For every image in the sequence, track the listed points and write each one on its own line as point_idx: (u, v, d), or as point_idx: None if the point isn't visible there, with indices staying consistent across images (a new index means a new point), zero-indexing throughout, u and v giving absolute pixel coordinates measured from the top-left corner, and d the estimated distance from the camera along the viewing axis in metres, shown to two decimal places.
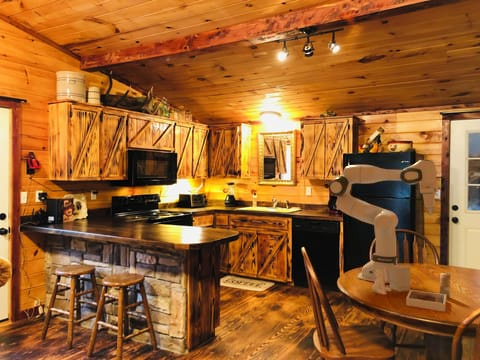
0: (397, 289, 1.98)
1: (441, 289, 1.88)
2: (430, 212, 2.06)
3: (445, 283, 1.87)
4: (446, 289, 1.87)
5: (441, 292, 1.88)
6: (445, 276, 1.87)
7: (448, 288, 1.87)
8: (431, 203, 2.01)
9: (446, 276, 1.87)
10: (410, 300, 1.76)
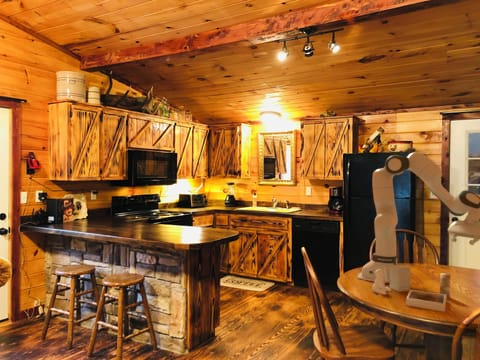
0: (397, 289, 1.98)
1: (441, 289, 1.88)
2: (473, 242, 1.91)
3: (445, 283, 1.87)
4: (446, 289, 1.87)
5: (441, 292, 1.88)
6: (445, 276, 1.87)
7: (448, 288, 1.87)
8: None
9: (446, 276, 1.87)
10: (410, 300, 1.76)
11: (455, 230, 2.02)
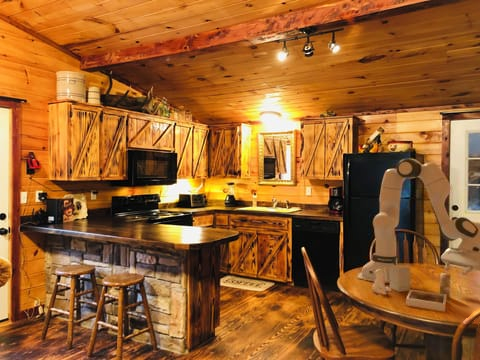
0: (397, 289, 1.98)
1: (441, 289, 1.88)
2: (466, 272, 1.87)
3: (445, 283, 1.87)
4: (446, 289, 1.87)
5: (441, 292, 1.88)
6: (445, 276, 1.87)
7: (448, 288, 1.87)
8: None
9: (446, 276, 1.87)
10: (410, 300, 1.76)
11: (448, 258, 1.98)
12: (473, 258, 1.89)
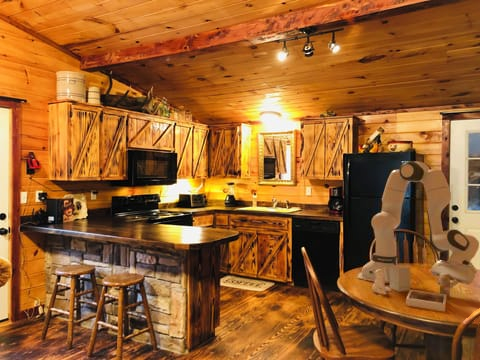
0: (397, 289, 1.98)
1: (441, 289, 1.88)
2: (452, 285, 1.86)
3: (445, 283, 1.87)
4: (446, 289, 1.87)
5: (441, 292, 1.88)
6: (445, 276, 1.87)
7: (448, 288, 1.87)
8: (471, 281, 1.82)
9: (446, 276, 1.87)
10: (410, 300, 1.76)
11: (438, 271, 1.94)
12: (463, 272, 1.85)
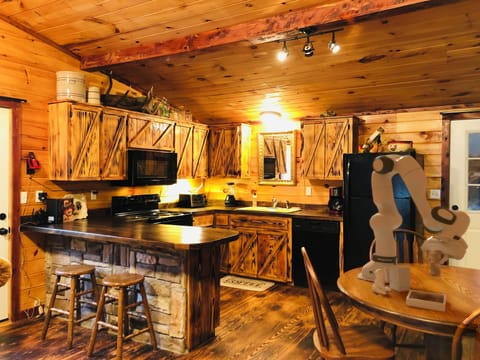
0: (397, 289, 1.98)
1: (431, 265, 1.83)
2: (443, 261, 1.80)
3: (435, 259, 1.81)
4: (437, 265, 1.81)
5: (431, 268, 1.83)
6: (436, 252, 1.81)
7: (439, 264, 1.81)
8: (462, 257, 1.76)
9: (437, 252, 1.81)
10: (410, 300, 1.76)
11: (428, 248, 1.89)
12: (454, 247, 1.80)
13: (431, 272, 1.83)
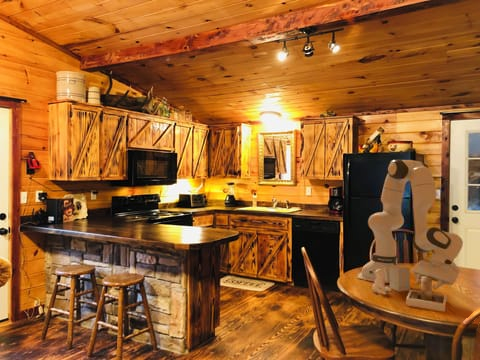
0: (397, 289, 1.98)
1: (422, 293, 1.79)
2: (437, 287, 1.75)
3: (426, 286, 1.78)
4: (427, 293, 1.78)
5: (422, 296, 1.79)
6: (426, 279, 1.78)
7: (429, 292, 1.78)
8: (453, 282, 1.73)
9: (427, 279, 1.78)
10: (410, 300, 1.76)
11: (420, 271, 1.85)
12: (445, 271, 1.76)
13: None
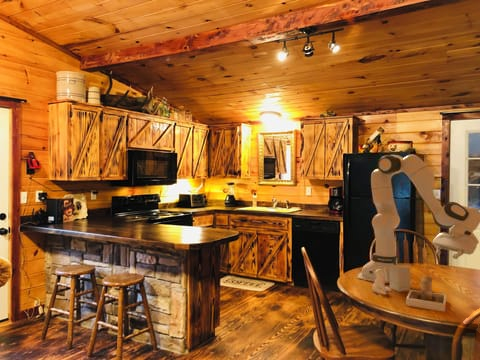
0: (397, 289, 1.98)
1: (422, 293, 1.79)
2: (457, 256, 1.85)
3: (426, 286, 1.78)
4: (428, 293, 1.78)
5: (422, 296, 1.79)
6: (426, 279, 1.78)
7: (429, 292, 1.78)
8: (473, 251, 1.82)
9: (427, 279, 1.78)
10: (410, 300, 1.76)
11: (439, 242, 1.95)
12: (464, 242, 1.86)
13: None
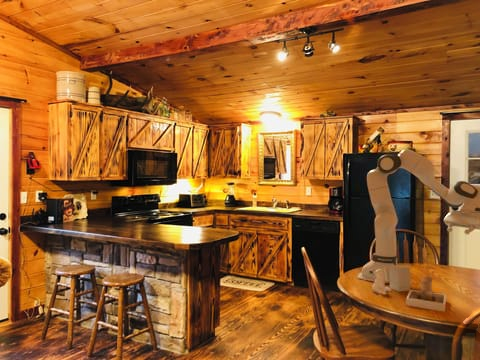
0: (397, 289, 1.98)
1: (422, 293, 1.79)
2: (469, 231, 1.92)
3: (426, 286, 1.78)
4: (428, 293, 1.78)
5: (422, 296, 1.79)
6: (426, 279, 1.78)
7: (429, 292, 1.78)
8: None
9: (427, 279, 1.78)
10: (410, 300, 1.76)
11: (451, 220, 2.03)
12: (475, 218, 1.94)
13: None
